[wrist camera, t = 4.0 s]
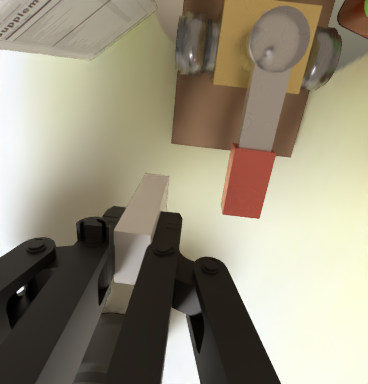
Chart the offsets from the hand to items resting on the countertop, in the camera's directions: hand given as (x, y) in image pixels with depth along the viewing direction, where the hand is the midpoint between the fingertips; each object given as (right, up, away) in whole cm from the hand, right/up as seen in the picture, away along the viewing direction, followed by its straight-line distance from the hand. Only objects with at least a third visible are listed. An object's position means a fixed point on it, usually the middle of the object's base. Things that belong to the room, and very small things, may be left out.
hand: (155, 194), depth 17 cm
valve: (+8, +14, +10) cm, 19 cm away
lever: (+7, +5, +3) cm, 10 cm away
